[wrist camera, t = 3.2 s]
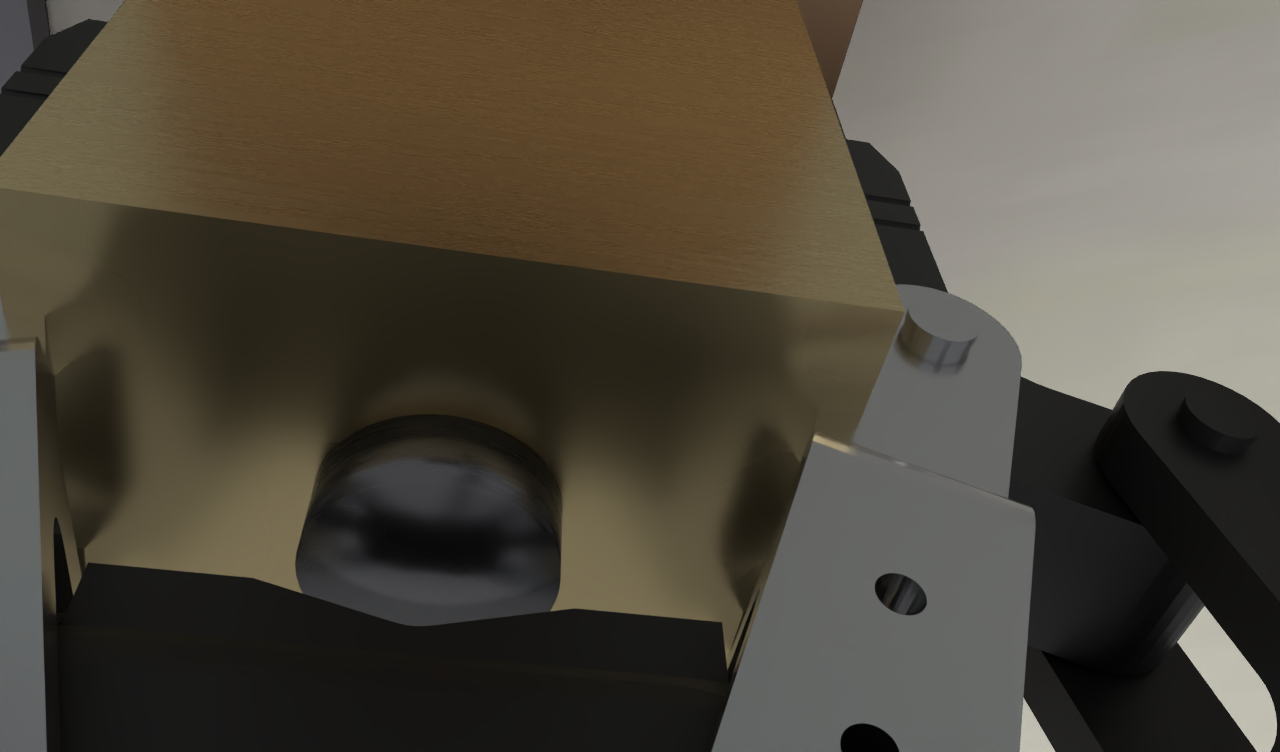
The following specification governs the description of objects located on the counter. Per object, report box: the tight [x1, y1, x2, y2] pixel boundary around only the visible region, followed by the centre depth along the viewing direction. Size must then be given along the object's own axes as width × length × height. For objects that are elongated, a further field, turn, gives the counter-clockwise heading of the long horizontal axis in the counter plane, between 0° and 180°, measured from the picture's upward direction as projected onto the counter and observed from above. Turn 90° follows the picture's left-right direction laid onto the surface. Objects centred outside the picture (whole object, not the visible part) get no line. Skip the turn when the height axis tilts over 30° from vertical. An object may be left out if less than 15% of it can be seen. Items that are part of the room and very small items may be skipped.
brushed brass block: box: [0, 0, 905, 658], centre depth 10 cm, size 4×5×7 cm
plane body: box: [797, 0, 863, 98], centre depth 12 cm, size 18×7×11 cm, turn 169°
